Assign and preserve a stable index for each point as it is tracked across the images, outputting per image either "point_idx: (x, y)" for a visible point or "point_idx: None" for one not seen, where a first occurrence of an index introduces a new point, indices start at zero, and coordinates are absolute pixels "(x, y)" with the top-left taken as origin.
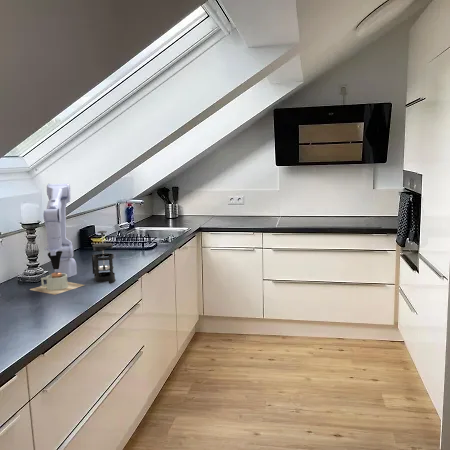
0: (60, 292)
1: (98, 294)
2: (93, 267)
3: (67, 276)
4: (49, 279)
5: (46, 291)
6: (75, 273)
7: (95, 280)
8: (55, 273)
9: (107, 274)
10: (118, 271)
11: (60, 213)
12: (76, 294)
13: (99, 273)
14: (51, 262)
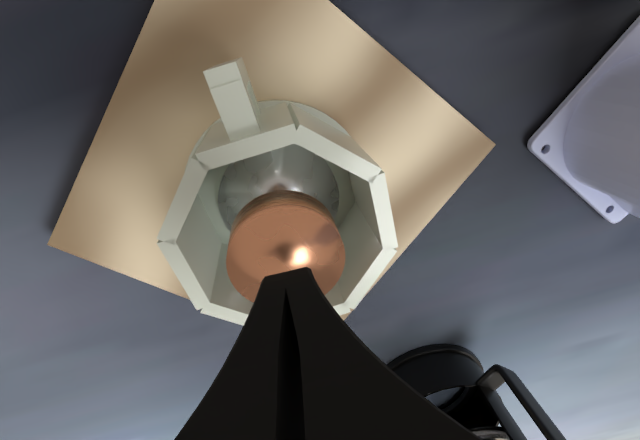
0: (121, 264)
1: (163, 432)
2: (527, 408)
3: (581, 177)
4: (177, 193)
5: (137, 140)
6: (636, 214)
7: (404, 374)
8: (273, 256)
9: (487, 408)
10: (608, 383)
11: None
12: (152, 340)
13: (492, 390)
14: (228, 360)
